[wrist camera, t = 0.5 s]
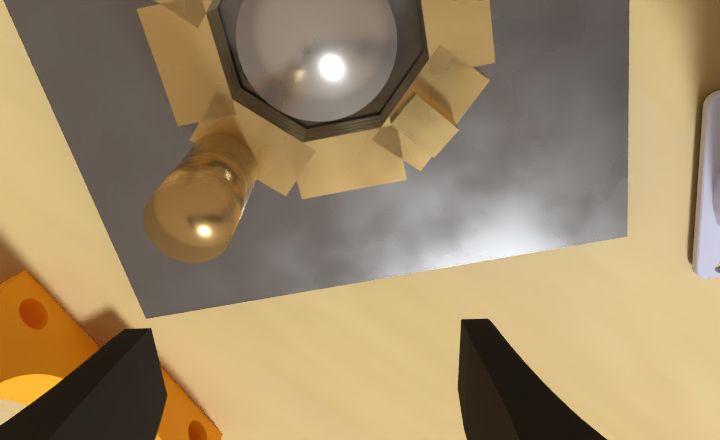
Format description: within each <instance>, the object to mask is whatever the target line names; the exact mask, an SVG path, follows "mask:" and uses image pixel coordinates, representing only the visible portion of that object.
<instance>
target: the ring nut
mask: <svg viewBox="0 0 720 440" xmlns="http://www.w3.org/2000/svg"><path fill="white" fill-rule="evenodd" d="M155 1H156V2H158V3H155V4H151V5H148V6H145V7H141V8H138V9H137V12H138V15H139V17H140V20H141V23H142V26H143V29H144V32H145V34H146V37H147V40H148V43H149V46H150V48H151V51H152V54H153V57H154V60H155V63H156V65H157V68H158V71H159V74H160V77H161V80H162V82H163V85H164V88H165V91H166V94H167V97H168V99H169V102H170V105H171V108H172V111H173V114H174V116H175V119H176V122H177V125H178V126H182V125H187V124H192V123H197V122H199V124H198V125H197V127H196V129H195V131H194V133H193V134H192V136H191V138H190V141H192V142H194V143H195V144H194V145H193V146H192V148H191V149H190V150H189V151H188V153H187V154H186V155H185V156H184V157H183V159H182V160H181V161H180V162H179V164H178V165H177V166H176V167H175V169H174V170H173V171H172V172H171V174H170V175H169V176H168V177H167V178H166V180H165V181H164V182H163V183H162V185H161V186H160V187H159V188H158V190H157V191H156V192H155V193H154V195H153V196H152V197H151V198H150V200H149V201H148V203H147V205H146V207H145V211H144V217H143V218H144V227H145V230H146V233H147V235H148V237H149V239H150V240H151V242H152V243H153V244H154V246H155V247H156V248H157V249H158V250H160V251H161V252H162V253H163V254H165V255H167V256H168V257H170V258H172V259H175V260H178V261H181V262H185V263H202V262H207V261H210V260H212V259H214V258H216V257H218V256H219V255H220V254H222V253H223V252H224V251H225V249H226V248H227V247H228V245H229V243H230V241H231V239H232V236H233V234H234V232H235V229H236V227H237V225H238V222H239V220H240V218H241V215H242V213H243V211H244V208H245V206H246V204H247V201H248V199H249V197H250V194H251V192H252V190H253V187H254V185H255V183H256V180H259V181H260V182H262V183H264V184H265V185H267V186H269V187H271V188H272V189H274V190H276V191H277V192H279V193H281V194H282V195H284V196H287V194H288V193H289V191H290V190H291V188H292V187H293V185H294V183H295V182H296V180H297V183H298V187H299V191H300V194H301V198H302V199H306V198H312V197H317V196H322V195H328V194H333V193H339V192H344V191H349V190H355V189H360V188H366V187H371V186H376V185H382V184H387V183H393V182H398V181H403V180H407V179H406V173H405V168H404V162H403V160H404V161H405V162H407V163H409V164H410V165H412V166H413V167H415V168H416V169H418V170H419V171H421V170H422V169H423V168H424V166H425V165H426V164H427V162H428V161H429V160H430V158H431V157H433V158H434V157H435V156H436V155H437V154H438V153H439V152H440V151H441V150H442V149H443V147H444V146H445V145H446V144H447V143H448V142H449V141H450V140H451V139H452V137H453V136H454V135H455V134H456V133H457V132H458V131H459V129H458V127H457V125H456V124H457V123H458V122H459V120H460V119H461V118H462V117H463V115H464V114H465V113H466V111H467V110H468V109H469V107H470V106H471V105H472V103H473V102H474V101H475V99H476V98H477V97H478V96H479V94H480V93H481V92H482V90H483V89H484V88H485V86H486V85H487V84H488V82H489V81H490V80H489V79H488V78H487V77H486V75H485V74H484V73H483V72H482V71H481V70H479V69H478V68H477V67H476V66H481V65H486V64H491V63H495V54H494V43H493V33H492V22H491V11H490V0H417V3H418V10H419V16H420V23H421V30H422V37H423V44H424V52H423V53H422V55H421V56H420V57H419V59H418V60H417V62H416V63H415V65H414V66H413V68H412V69H411V70H410V72H409V73H408V75H407V76H406V78H405V79H404V80H403V82H402V83H401V85H400V86H399V88H398V89H397V91H396V92H395V93H394V95H393V96H392V98H391V99H390V101H389V102H388V103H387V105H386V106H385V108H384V109H383V111H382V112H381V114H380V115H376V116H371V117H366V118H361V119H356V120H351V121H346V122H340V123H335V124H330V125H325V126H320V127H315V128H310V129H305V128H304V127H302V126H301V125H299V124H297V123H296V122H294V121H293V120H291V119H289V118H288V117H286V116H285V115H283V114H281V113H280V112H278V111H277V110H275V109H273V108H272V107H270V106H269V105H267V104H265V103H264V102H262V101H261V100H259V99H257V98H256V97H254V96H253V95H251V94H249V93H248V92H246V91H245V90H243V89H241V87H240V84H239V81H238V77H237V74H236V70H235V67H234V64H233V60H232V57H231V53H230V50H229V47H228V43H227V40H226V36H225V33H224V30H223V26H222V23H221V19H220V16H219V13H218V9H217V7H218V5H219V3H220V1H221V0H155Z"/></svg>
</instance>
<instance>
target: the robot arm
mask: <svg viewBox="0 0 720 440" xmlns="http://www.w3.org/2000/svg"><path fill="white" fill-rule="evenodd" d="M718 263H720V90H718V91H715V92H712V93H711V94H710V95H709V96H708V97H707V98H706V99H705V101H704V104H703V113H702V127H701V142H700V157H699V172H698V187H697V201H696V216H695V231H694V246H693V261H692V270H693V272H694V273H695V274H696V275H697V276H698V277H699V278H702V279H710V278H716V277H720V266H719V267H717V268H715V266H716V265H717V264H718ZM458 392H459V399H460V406H461V413H462V419H463V425H464V430H465V434H466V438H467V440H607V439H606V438H604V437H603V436H602V435H601V434H599V433H598V432H597V431H596V430H594V429H593V428H592V427H591V426H590V425H588V424H587V423H586V422H585V421H583V420H582V419H581V418H580V417H579V416H578V415H577V414H576V413H574V412H573V411H572V410H571V409H570V408H569V407H568V406H567V405H566V404H565V403H564V402H563V401H562V400H561V399H560V398H558V397H557V396H556V395H555V394H554V393H553V392H552V391H551V390H550V389H549V388H548V387H547V386H546V385H545V384H544V383H543V381H542V380H541V379H540V378H539V377H538V376H537V375H536V374H535V373H534V372H533V371H532V370H531V369H530V367H529V366H528V365H527V364H526V363H525V362H524V361H523V360H522V359H521V357H520V356H519V355H518V354H517V353H516V352H515V350H514V349H513V348H512V347H511V346H510V344H509V343H508V342H507V341H506V340H505V338H504V337H503V336H502V335H501V333H500V332H499V331H498V329H497V328H496V327H495V326H494V324H493V323H492V322H491V321H490V320H489V319H461V336H460V355H459V375H458ZM167 396H168V395H167V391H166V387H165V383H164V379H163V375H162V371H161V367H160V363H159V359H158V355H157V350H156V346H155V342H154V338H153V334H152V330H151V328H144V329H125V330H123V331H122V332H121V333H119V334H118V335H117V336H115V337H114V338H113V339H111V340H110V341H109V342H108V343H106V344H105V345H104V346H103V347H102V348H100V349H99V350H98V351H97V352H95V353H94V354H93V355H92V356H91V357H89V358H88V359H87V360H86V361H85V362H83V363H82V364H81V365H80V366H78V367H77V368H76V369H75V370H73V371H72V372H71V373H70V374H68V375H67V376H66V377H65V378H64V379H62V380H61V381H60V382H59V383H57V384H56V385H55V386H54V387H52V388H51V389H50V390H48V391H47V392H46V393H44V394H43V395H42V396H40V397H39V398H38V399H36V400H35V401H34V402H32V403H31V404H30V405H28V406H27V407H26V408H24V409H23V410H21V411H20V412H19V413H17V414H16V415H15V416H13V417H12V418H11V419H9V420H8V421H6V422H5V423H3V424H2V425H0V440H155V438H156V435H157V432H158V429H159V425H160V422H161V419H162V415H163V411H164V407H165V403H166V400H167Z"/></svg>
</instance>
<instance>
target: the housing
mask: <svg viewBox="0 0 720 440" xmlns="http://www.w3.org/2000/svg"><path fill="white" fill-rule="evenodd" d="M4 2H5V5H6V7H7V9H8V11H9V14H10V16H11V18H12V20H13V23H14V25H15V27H16V29H17V31H18V34H19V36H20V38H21V40H22V43H23V45H24V47H25V49H26V52H27V54H28V56H29V58H30V60H31V63H32V65H33V67H34V69H35V72H36V74H37V76H38V78H39V81H40V83H41V85H42V87H43V89H44V92H45V94H46V96H47V98H48V101H49V103H50V105H51V107H52V110H53V112H54V114H55V116H56V118H57V121H58V123H59V125H60V127H61V130H62V132H63V134H64V136H65V139H66V141H67V143H68V145H69V147H70V150H71V152H72V154H73V156H74V159H75V161H76V163H77V165H78V168H79V170H80V172H81V174H82V176H83V179H84V181H85V183H86V185H87V188H88V190H89V192H90V194H91V197H92V199H93V201H94V203H95V205H96V208H97V210H98V212H99V214H100V217H101V219H102V221H103V223H104V226H105V228H106V230H107V232H108V234H109V237H110V239H111V241H112V243H113V246H114V248H115V250H116V252H117V255H118V257H119V259H120V261H121V263H122V266H123V268H124V270H125V272H126V275H127V277H128V279H129V281H130V284H131V286H132V288H133V290H134V292H135V295H136V297H137V299H138V301H139V304H140V306H141V308H142V310H143V313H144V315H145V317H146V319H148V318H154V317H159V316H165V315H171V314H177V313H183V312H189V311H194V310H200V309H206V308H212V307H218V306H224V305H230V304H235V303H241V302H247V301H253V300H259V299H265V298H270V297H276V296H282V295H288V294H294V293H300V292H305V291H311V290H317V289H323V288H329V287H335V286H341V285H346V284H352V283H358V282H364V281H370V280H376V279H381V278H387V277H393V276H399V275H405V274H411V273H417V272H422V271H428V270H434V269H440V268H446V267H452V266H457V265H463V264H469V263H475V262H481V261H487V260H493V259H498V258H504V257H510V256H516V255H522V254H528V253H533V252H539V251H545V250H551V249H557V248H563V247H569V246H574V245H580V244H586V243H592V242H598V241H604V240H609V239H615V238H621V237H627V206H628V89H629V0H490V11H491V22H492V33H493V43H494V54H495V63H491V64H486V65H481V66H476V67H477V68H478V69H479V70H481V71H482V72H483V73H484V74H485V75H486V77H487V78H488V79H489V80H490V81H489V82H488V84H487V85H486V86H485V88H484V89H483V90H482V92H481V93H480V94H479V96H478V97H477V98H476V99H475V101H474V102H473V103H472V105H471V106H470V107H469V109H468V110H467V111H466V113H465V114H464V115H463V117H462V118H461V119H460V120H459V122H458V123H457V124H456V125H457V127H458V129H459V131H458V132H457V133H456V134H455V135H454V136H453V137H452V139H451V140H450V141H449V142H448V143H447V144H446V145H445V146H444V147H443V149H442V150H441V151H440V152H439V153H438V154H437V155H436V156H435V157H434V158H433V157H431V158H430V160H429V161H428V162H427V164H426V165H425V166H424V168H423V169H422V170H421V171H419V170H418V169H416V168H415V167H413V166H412V165H410V164H409V163H407V162H405V161H404V160H403V162H404V168H405V173H406V179H407V180H403V181H398V182H393V183H387V184H382V185H376V186H371V187H366V188H360V189H355V190H349V191H344V192H339V193H333V194H328V195H322V196H317V197H312V198H306V199H302V198H301V194H300V191H299V187H298V183H297V180H296V182H295V183H294V185H293V187H292V188H291V190H290V191H289V193H288V194H287V196H284V195H282V194H281V193H279V192H277V191H276V190H274V189H272V188H271V187H269V186H267V185H265V184H264V183H262V182H260V181H259V180H256V183H255V185H254V187H253V190H252V192H251V194H250V197H249V199H248V201H247V204H246V206H245V208H244V211H243V213H242V215H241V218H240V220H239V222H238V225H237V227H236V229H235V232H234V234H233V236H232V239H231V241H230V243H229V245H228V247H227V248H226V249H225V251H224V252H223V253H222V254H220V255H219V256H218V257H216V258H214V259H212V260H210V261H207V262H202V263H185V262H181V261H178V260H175V259H172V258H170V257H168V256H167V255H165V254H163V253H162V252H161V251H160V250H158V249H157V248H156V247H155V246H154V244H153V243H152V242H151V240H150V239H149V237H148V235H147V233H146V230H145V227H144V218H143V217H144V211H145V207H146V205H147V203H148V201H149V200H150V198H151V197H152V196H153V195H154V193H155V192H156V191H157V190H158V188H159V187H160V186H161V185H162V183H163V182H164V181H165V180H166V178H167V177H168V176H169V175H170V174H171V172H172V171H173V170H174V169H175V167H176V166H177V165H178V164H179V162H180V161H181V160H182V159H183V157H184V156H185V155H186V154H187V153H188V151H189V150H190V149H191V148H192V146H193V145H194V144H195V143H194V142H192V141H190V138H191V136H192V134H193V133H194V131H195V129H196V127H197V125H198V124H199V122H197V123H192V124H187V125H182V126H178V125H177V122H176V119H175V116H174V114H173V111H172V108H171V105H170V102H169V99H168V97H167V94H166V91H165V88H164V85H163V82H162V80H161V77H160V74H159V71H158V68H157V65H156V63H155V60H154V57H153V54H152V51H151V48H150V46H149V43H148V40H147V37H146V34H145V32H144V29H143V26H142V23H141V20H140V17H139V15H138V12H137V9H138V8H141V7H145V6H148V5H151V4H155V3H158V2H156V1H155V0H4ZM217 9H218V13H219V16H220V19H221V23H222V26H223V30H224V33H225V36H226V40H227V43H228V47H229V50H230V53H231V57H232V60H233V64H234V67H235V70H236V74H237V77H238V81H239V84H240V87H241V89H243V90H245V91H246V92H248V93H249V94H251V95H253V96H254V97H256V98H257V99H259V100H261V101H262V102H264V103H265V104H267V105H269V106H270V107H272V108H273V109H275V110H277V111H278V112H280V113H281V114H283V115H285V116H286V117H288V118H289V119H291V120H293V121H294V122H296V123H297V124H299V125H301V126H302V127H304V128H305V129H310V128H315V127H320V126H325V125H330V124H335V123H340V122H346V121H351V120H356V119H361V118H366V117H371V116H376V115H380V114H381V112H382V111H383V109H384V108H385V106H386V105H387V103H388V102H389V101H390V99H391V98H392V96H393V95H394V93H395V92H396V91H397V89H398V88H399V86H400V85H401V83H402V82H403V80H404V79H405V78H406V76H407V75H408V73H409V72H410V70H411V69H412V68H413V66H414V65H415V63H416V62H417V60H418V59H419V57H420V56H421V55H422V53H423V52H424V44H423V37H422V30H421V23H420V16H419V10H418V3H417V0H221V1H220V3H219V5H218V7H217Z"/></svg>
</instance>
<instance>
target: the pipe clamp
mask: <svg viewBox="0 0 720 440" xmlns="http://www.w3.org/2000/svg"><path fill="white" fill-rule="evenodd" d="M99 349H100V347H99V346H98V345H97V344H96V343H95V342H94V341H93V340H92V339H91V338H90V337H89V336H88V335H87V334H86V333H85V332H84V331H83V330H82V328H81V327H80V326H79V325H78V324H77V323H76V322H75V321H74V320H73V319H72V318H71V317H70V316H69V315H68V314H67V313H66V312H65V311H64V310H63V309H62V308H61V306H60V305H59V304H58V303H57V302H56V301H55V300H54V299H53V298H52V297H51V296H50V295H49V294H48V293H47V292H46V291H45V290H44V289H43V288H42V287H41V286H40V285H39V283H38V282H37V281H36V280H35V279H34V278H33V277H32V276H31V275H30V274H29V273H28V272H27V271H26V270H24V271H22V272H20V273H18V274H17V275H15V276H13V277H11V278H10V279H8V280H6V281H4V282H2V283H1V284H0V399H7V400H11V401H16V402H19V403H22V404H25V405H27V406H28V405H30V404H31V403H32V402H34V401H35V400H36V399H38V398H39V397H40V396H42V395H43V394H44V393H46V392H47V391H48V390H50V389H51V388H52V387H54V386H55V385H56V384H57V383H59V382H60V381H61V380H62V379H64V378H65V377H66V376H67V375H68V374H70V373H71V372H72V371H73V370H75V369H76V368H77V367H78V366H80V365H81V364H82V363H83V362H85V361H86V360H87V359H88V358H89V357H91V356H92V355H93V354H94V353H95V352H97V351H98V350H99ZM160 367H161V366H160ZM161 371H162V375H163V379H164V383H165V387H166V391H167V395H168V396H167V400H166V403H165V407H164V411H163V415H162V419H161V422H160V425H159V429H158V432H157V435H156V438H155V440H221V437H222V433H221V432H220V431H219V430H218V429H217V428H216V427H215V425H214V424H213V423H212V422H211V421H210V420H209V419H208V418H207V417H206V416H205V414H204V413H203V412H202V411H201V410H200V409H199V408H198V407H197V406H196V405H195V404H194V402H193V401H192V400H191V399H190V398H189V397H188V396H187V395H186V394H185V393H184V391H183V390H182V389H181V388H180V387H179V386H178V385H177V384H176V383H175V382H174V380H173V379H172V378H171V377H170V376H169V375H168V374H167V373H166V372H165V371H164V370H163V368H162V367H161Z"/></svg>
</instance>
